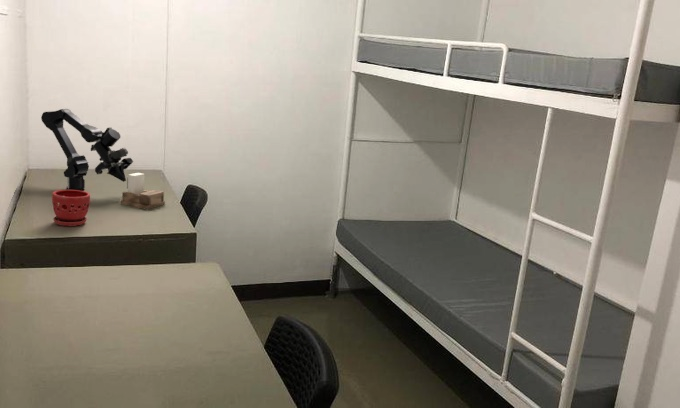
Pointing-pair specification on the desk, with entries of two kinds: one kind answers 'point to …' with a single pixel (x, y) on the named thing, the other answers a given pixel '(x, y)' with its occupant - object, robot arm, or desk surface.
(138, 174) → the white rectangular block
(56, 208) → the plant pot
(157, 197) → the housing
